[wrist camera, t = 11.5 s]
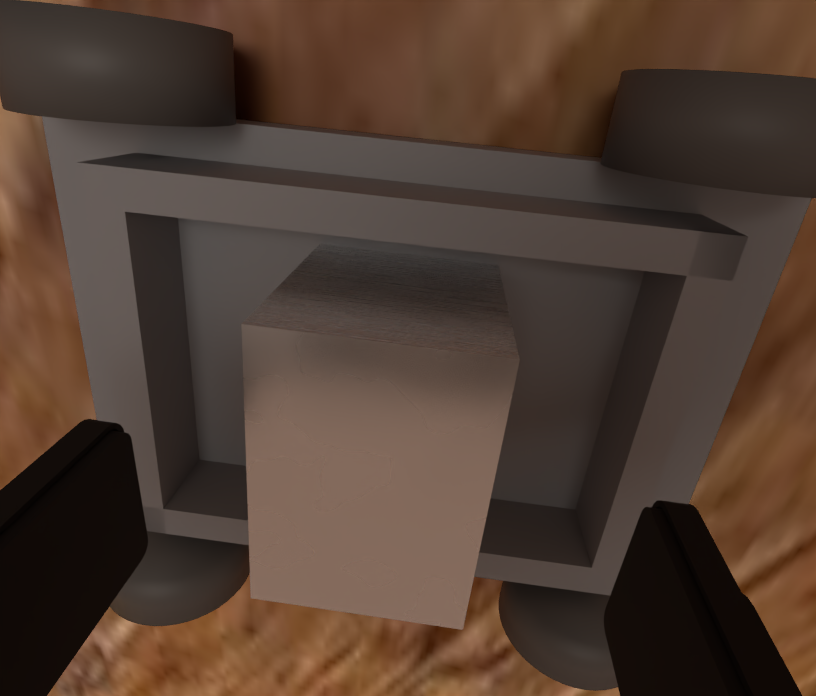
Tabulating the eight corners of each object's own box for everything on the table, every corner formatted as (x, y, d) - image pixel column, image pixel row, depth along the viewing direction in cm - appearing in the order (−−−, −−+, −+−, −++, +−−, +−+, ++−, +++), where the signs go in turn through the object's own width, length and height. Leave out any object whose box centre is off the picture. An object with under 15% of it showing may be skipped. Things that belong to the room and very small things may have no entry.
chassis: (814, 96, 14) (985, 95, 9) (635, 574, 21) (682, 703, 17) (63, 21, 15) (-114, -13, 10) (138, 506, 22) (54, 611, 17)
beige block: (498, 265, 15) (519, 359, 9) (462, 468, 18) (462, 629, 12) (320, 243, 15) (241, 324, 10) (313, 448, 18) (250, 598, 13)
